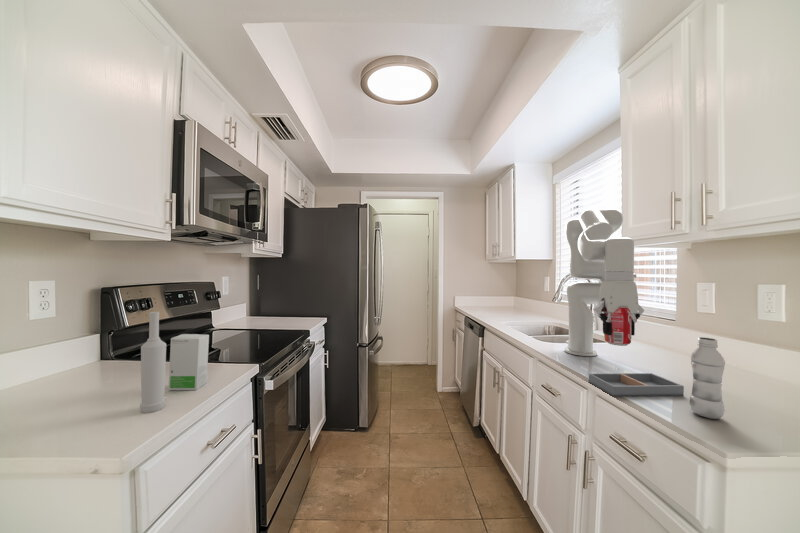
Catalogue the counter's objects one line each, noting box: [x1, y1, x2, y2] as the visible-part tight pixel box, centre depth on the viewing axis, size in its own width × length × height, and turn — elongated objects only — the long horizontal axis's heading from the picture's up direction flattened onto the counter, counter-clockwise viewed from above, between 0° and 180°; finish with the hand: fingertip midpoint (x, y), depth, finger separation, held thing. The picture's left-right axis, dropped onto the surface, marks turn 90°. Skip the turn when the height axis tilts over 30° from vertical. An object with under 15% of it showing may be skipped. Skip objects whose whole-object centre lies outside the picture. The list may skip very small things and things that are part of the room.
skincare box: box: [167, 333, 210, 391], centre depth 96 cm, size 8×7×16 cm
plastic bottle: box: [689, 336, 726, 420], centre depth 80 cm, size 6×7×20 cm
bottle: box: [139, 311, 167, 414], centre depth 81 cm, size 5×5×25 cm
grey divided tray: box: [588, 372, 685, 398], centre depth 98 cm, size 11×22×3 cm, turn 93°
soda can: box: [603, 306, 632, 347], centre depth 98 cm, size 7×7×12 cm
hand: (618, 334), depth 97 cm, fingers closed on soda can, 6 cm apart
